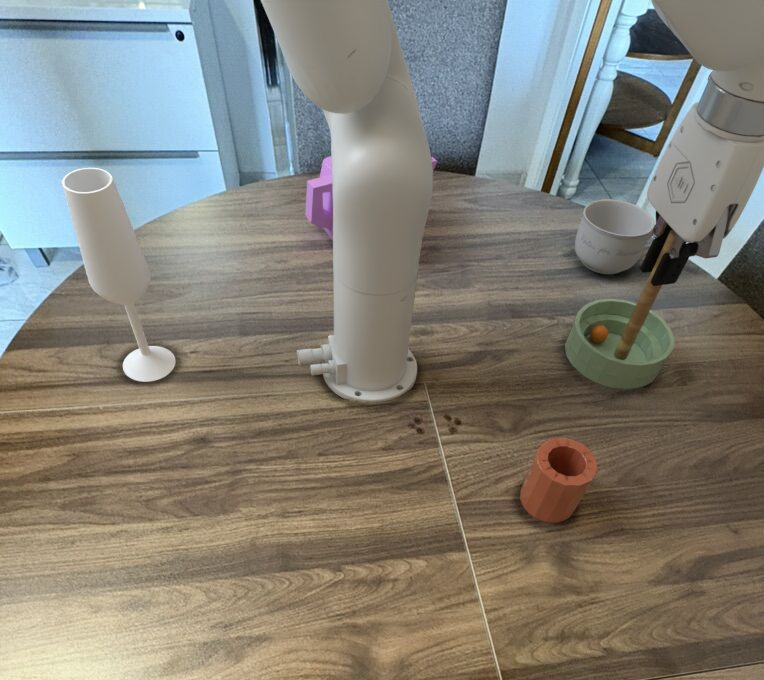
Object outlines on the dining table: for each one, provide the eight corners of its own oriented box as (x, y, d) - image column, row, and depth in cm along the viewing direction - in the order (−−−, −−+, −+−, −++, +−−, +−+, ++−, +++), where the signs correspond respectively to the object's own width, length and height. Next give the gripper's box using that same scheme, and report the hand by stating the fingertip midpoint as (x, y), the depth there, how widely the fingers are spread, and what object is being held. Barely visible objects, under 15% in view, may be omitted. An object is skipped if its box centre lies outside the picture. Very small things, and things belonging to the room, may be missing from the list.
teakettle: (302, 249, 96) (297, 168, 86) (334, 193, 105) (334, 114, 95) (407, 272, 94) (415, 193, 84) (431, 213, 104) (441, 136, 93)
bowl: (588, 399, 82) (602, 371, 77) (549, 333, 88) (559, 304, 84) (675, 385, 84) (692, 357, 80) (630, 322, 91) (644, 293, 87)
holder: (531, 531, 69) (551, 490, 63) (510, 485, 73) (527, 442, 66) (582, 521, 71) (607, 479, 64) (559, 476, 74) (581, 433, 67)
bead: (596, 349, 87) (589, 337, 85) (592, 339, 88) (585, 328, 87) (613, 340, 86) (606, 328, 84) (608, 330, 87) (601, 318, 86)
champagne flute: (168, 340, 83) (114, 157, 63) (181, 373, 80) (130, 191, 60) (117, 353, 81) (45, 168, 61) (129, 387, 78) (57, 204, 58)
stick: (617, 361, 83) (675, 238, 68) (611, 352, 84) (667, 229, 69) (629, 359, 83) (689, 236, 68) (623, 350, 84) (681, 227, 69)
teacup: (561, 271, 97) (577, 223, 90) (575, 235, 103) (592, 188, 96) (648, 296, 95) (672, 250, 88) (658, 258, 100) (681, 212, 94)
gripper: (664, 71, 61) (599, 241, 76) (755, 152, 53) (662, 324, 68) (729, 67, 62) (652, 235, 78) (828, 146, 54) (720, 316, 69)
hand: (657, 275), depth 73 cm, fingers closed on stick, 1 cm apart
